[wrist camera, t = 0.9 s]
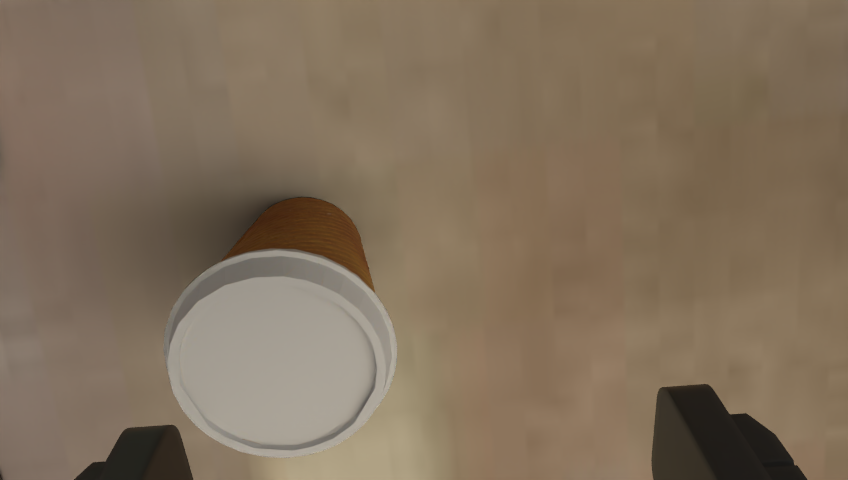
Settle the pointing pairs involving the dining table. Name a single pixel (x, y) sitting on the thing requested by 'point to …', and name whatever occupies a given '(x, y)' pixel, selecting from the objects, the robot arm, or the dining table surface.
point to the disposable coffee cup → (283, 336)
